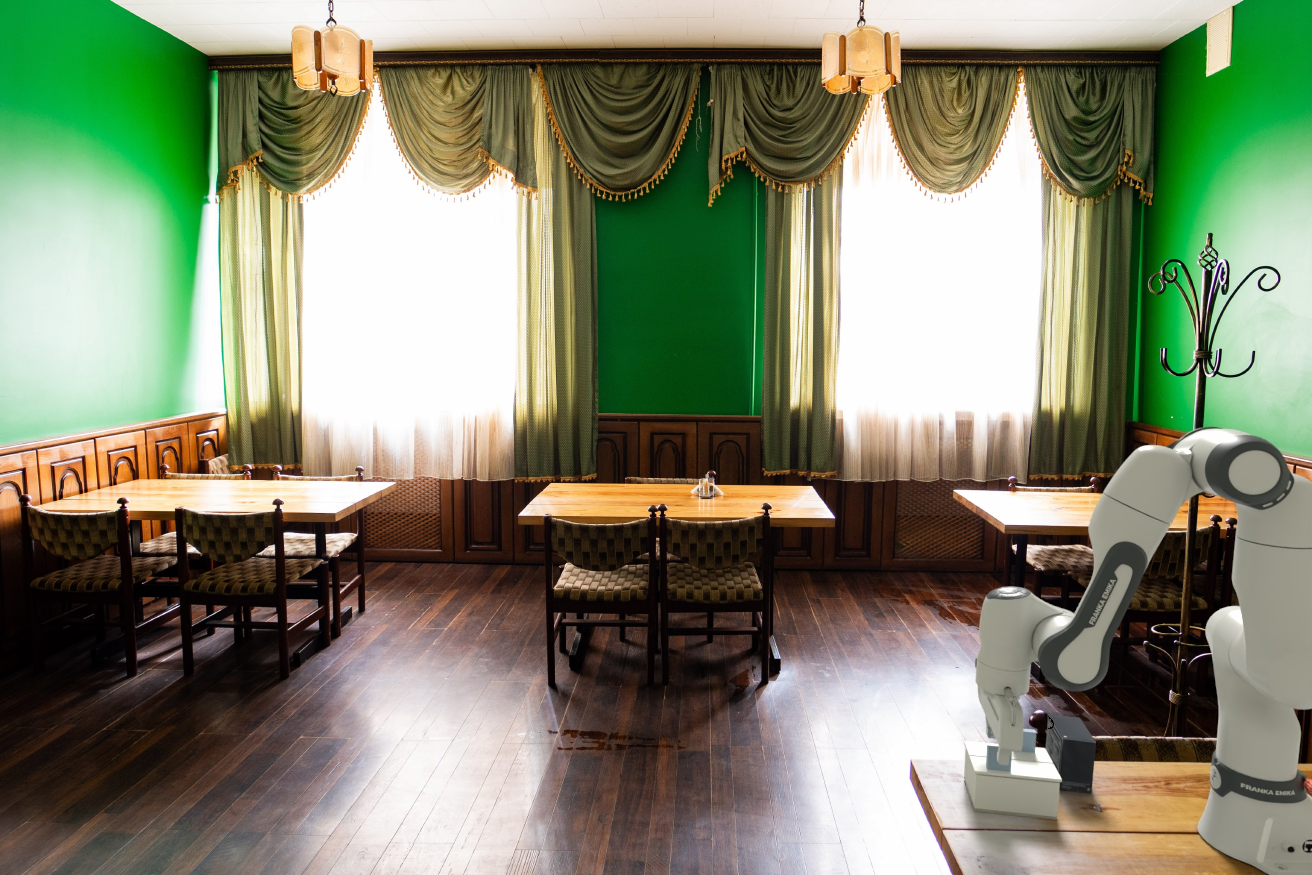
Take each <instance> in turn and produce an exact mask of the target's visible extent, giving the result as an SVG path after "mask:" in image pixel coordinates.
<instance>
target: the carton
mask: <svg viewBox="0 0 1312 875" xmlns="http://www.w3.org/2000/svg"><path fill="white" fill-rule="evenodd" d="M964 751H965V752H964V754H965V755H964V773H963V774H964V775H963V780H964V779H965V781H964V783H965V782H966V784H965V786H967V787H966V789H968V790H967V793H968V792H969V793H968V797H969V799H970V802H971V805H972V808H973V811H974V812H978V813H980V812H981V813H988V814H996V815H1005V816H1006V815H1007V816H1016V817H1025V818H1035V819H1044V820H1051V821H1053V820H1054V821H1058V817H1059V816H1058V813H1059V799H1060V798H1059V797H1060V790H1059V787H1060V783H1059V782H1055V781H1044V780H1034V779H1024V778H1014V777H1004V776H994V775H984V774H975V773H974V770H973V767H972V764H971V762H970V759H969V756H968V753H967V750H966V748H965V749H964Z"/></svg>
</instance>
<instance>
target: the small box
mask: <svg viewBox="0 0 1312 875" xmlns="http://www.w3.org/2000/svg"><path fill="white" fill-rule="evenodd" d="M1048 716H1049V717H1050V718H1051V719H1052V720H1053V722H1054V726H1053V723H1052V722H1051V719H1049V717H1048ZM1052 726H1053V728H1052V729H1048V728H1050V727H1052ZM1046 727H1047V728H1046V739H1045V747H1044V748H1045V749H1046V751H1047V753H1048V755H1049V756H1050V758H1051V760H1052V762H1053V764H1054V766H1055V768H1056V769H1057V771H1058V773H1059V775H1060V777H1061V779H1062V782H1059V783H1060V787H1059V791H1060V790H1061V791H1069V792H1076V793H1078V792H1079V793H1087V794H1092V792H1093V783H1094V782H1093V781H1094V769H1095V768H1094V767H1095V761H1096V760H1095V758H1096V746H1097V742H1096V739H1095V738H1094V737H1093V736H1092V734H1091V733H1090V731H1089V730H1088V728H1087V727H1086V725H1085V724H1084V722H1083V721H1082V719H1081V718H1080V717H1076V716H1066V715H1060V714H1059V715H1058V714H1050V713H1048V714H1047V725H1046Z"/></svg>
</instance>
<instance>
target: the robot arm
mask: <svg viewBox="0 0 1312 875" xmlns="http://www.w3.org/2000/svg"><path fill="white" fill-rule="evenodd" d="M1200 493H1206V494H1209V495H1211V496H1214V497H1221V498H1222V499H1225V500H1227V501H1229V502H1232V503H1234V505H1235V507H1236V512H1237V521H1236V522H1237V523H1236V530H1235V536H1234V537H1235V540H1234V549H1233V560H1232V572H1231V581H1232V586H1233V588H1234V590H1235V591H1234V592H1236V596H1237V600H1238V604H1239V605H1231V606H1229V605H1228V606H1226V607H1223V608H1219V610H1217V611H1215V612H1214V613H1213V614H1212V615H1211V616H1210V617H1209V619H1208V620H1207V622H1206V626H1205V637H1206V640H1207V643H1208V645H1209V648H1210V653H1211V657H1212V664H1213V673H1214V674H1213V675H1214V678H1215V679H1214V680H1215V687H1216V695H1217V705H1218V722H1217V723H1218V724H1217V734H1216V746H1215V747H1216V748H1215V750H1214V751H1213V753H1212V758H1211V766H1210V770H1209V771H1210V772H1209V780H1210V781H1209V785H1210V790H1209V794H1208V796H1207V797H1208V798H1207V802H1206V805H1205V807H1204V810H1203V813H1202V815H1201V817H1200V819H1199V821H1198V823H1197V824H1196V827H1197V832H1198V833H1199V835H1200V836H1201V837H1202V839H1204V840H1205V841H1206V843H1208V844H1209V845H1210V846H1211V847H1213V848H1214V849H1215V850H1218V851H1219V852H1221V853H1223V854H1225V855H1227V856H1229V857H1231V858H1233V859H1236V860H1238V861H1241V862H1244V863H1246V864H1248V865H1252V866H1253V867H1255V868H1256V869H1258V870H1260V871H1262V872H1263V873H1265V874H1268V875H1312V796H1311V795H1312V779H1309V778H1308V776H1307V774H1305V773H1304V772H1303V771H1301V770H1300V769H1298V766H1299V765H1298V764H1299V756H1300V755H1299V754H1300V745H1301V737H1302V731H1301V725H1300V722H1299V720H1298V717H1297V715H1296V712H1295V710H1311V709H1312V481H1311V480H1310V479H1308V478H1306V477H1305V476H1302V475H1300V474H1297V473H1294V472H1291V471H1290V468H1289V466H1288V464H1287V461H1286V459H1285V457H1284V455H1283V454H1282V452H1281V451H1280V449H1279V448H1278V447H1277V446H1275V445H1274V444H1273V443H1272V442H1270V441H1268V440H1267V439H1265V438H1262V437H1260V436H1257V435H1253V434H1251V433H1248V432H1245V431H1242V430H1238V429H1235V428H1224V427H1223V428H1222V427H1218V426H1204V427H1199V428H1195V429H1193V430H1191V431H1189V432H1187V433H1186V434H1184V435H1182V436H1181V437H1180V438H1178V439H1177V440H1175V441H1174V442H1172V443H1170V444H1169V445H1167V446H1163V445H1158V444H1157V445H1156V444H1148V445H1146V444H1145V445H1143V446H1139V447H1138V448H1136V449H1135V450H1134V451H1133V452H1131V454H1130V455H1129V456H1128V457H1127V458H1126V459H1125V461H1123V463H1122V464H1121V465H1120V467H1119V468H1118V469H1117V470H1116V472H1115V473H1114V475H1113V476H1112V477H1111V479H1110V481H1109V482H1108V484H1107V485H1106V487H1105V488H1104V490H1103V492H1102V493H1101V496H1100V497H1099V499H1098V501H1097V503H1096V504H1095V506H1094V509H1093V511H1092V514H1091V516H1090V517H1091V518H1090V520H1089V524H1088V528H1087V529H1088V530H1087V531H1088V536H1089V540H1090V543H1091V548H1092V553H1093V572H1092V576H1091V577H1090V578H1091V579H1090V581H1089V584H1088V586H1087V588H1086V590H1085V591H1084V594H1083V595H1082V597H1081V600H1080V602H1079V603H1078V606H1077V607H1076V610H1075V611H1074V612H1072V611H1071V610H1068V609H1065V608H1061V607H1059V606H1055V605H1053V604H1050V603H1049V602H1046V601H1044V600H1043V599H1042V598H1041V599H1040V598H1039V597H1038V596H1036V595H1035V594H1034V593H1033V592H1032V591H1030V590H1029V589H1027V588H1024V587H1020V586H1012V585H1011V586H1002V587H998V588H997V587H996V588H994V589H993V590H991V591H989V592H988V593H987V594H986V596H985V598H984V600H983V603H982V607H981V611H980V612H981V613H980V617H979V618H980V619H979V629H978V637H979V640H980V646H979V650H978V652H977V655H976V656H975V660H974V667H975V683H976V685H977V697H978V701H979V704H980V706H981V708H982V711H983V713H984V717H985V718H984V719H985V725H986V727H985V734H986V736H987V738H988V739H990V740H991V739H993V740H996V744H998V746H999V749H998V751H997V761H998V763H999V764H1000V765H1008V764H1009V758H1010V755H1011V753H1012V751H1015V752H1019V751H1021V749H1022V747H1023V730H1024V729H1025V728H1024V725H1025V724H1024V722H1025V721H1024V719H1025V717H1024V710H1023V707H1022V705H1021V702H1020V700H1021V696H1024V695H1026V694H1027V693H1029V690H1030V681H1031V680H1030V678H1031V670H1032V668H1031V667H1032V663H1033V662H1037V663H1039V667H1040V670H1041V672H1042V676H1044V678H1045V679H1046V680H1047V681H1048V682H1049V683H1050V684H1051V685H1053V687H1054V686H1055V687H1056V688H1058V689H1061V690H1063V691H1066V692H1083V691H1088V690H1090V689H1093V688H1094V687H1096V686H1097V685H1099V684H1100V683H1101V682H1102V681H1103V680H1104V679H1105V677H1106V675H1107V672H1108V670H1109V665H1110V664H1109V662H1110V650H1111V645H1112V641H1113V639H1114V637H1115V634H1116V632H1117V630H1118V628H1119V626H1120V624H1121V622H1122V621H1123V619H1124V616H1125V614H1126V613H1127V610H1128V608H1129V606H1130V604H1131V602H1132V600H1133V598H1134V596H1135V594H1136V592H1137V590H1138V588H1139V585H1140V583H1141V581H1142V578H1143V576H1144V574H1145V572H1146V570H1147V568H1148V566H1149V563H1150V561H1151V560H1152V558H1153V556H1154V554H1155V553H1156V551H1157V549H1158V547H1159V546H1160V544H1161V542H1162V540H1163V538H1164V537H1165V536H1166V534H1167V532H1168V531H1169V529H1170V527H1171V525H1172V523H1173V522H1174V521H1175V519H1176V517H1177V515H1178V513H1179V511H1180V509H1181V507H1183V506H1184V505H1185V503H1186V502H1187V501H1188V500H1189V499H1191V498H1193V497H1194V496H1196V495H1197V494H1200ZM1307 791H1308V792H1307Z"/></svg>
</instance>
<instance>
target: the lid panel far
mask: <svg viewBox="0 0 1312 875" xmlns="http://www.w3.org/2000/svg"><path fill="white" fill-rule="evenodd" d="M1036 742H1037V732H1036V729H1032V728H1024V730H1023V747H1022V749H1021V751H1019V752H1015V751H1012V759H1011V760H1018V761H1029V762H1039V763H1050V764H1053V762H1052V760H1051V758H1050V756H1049V755H1048V753H1047V751H1046V749H1045V748H1046V747H1038V746H1037V745H1036V744H1037V743H1036ZM963 744H964V747H965V749H966V750H967V753H968V756H976V757H986V755H987V745H989V746H998V743H993V742H982V741H970V740H964V741H963Z"/></svg>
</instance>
